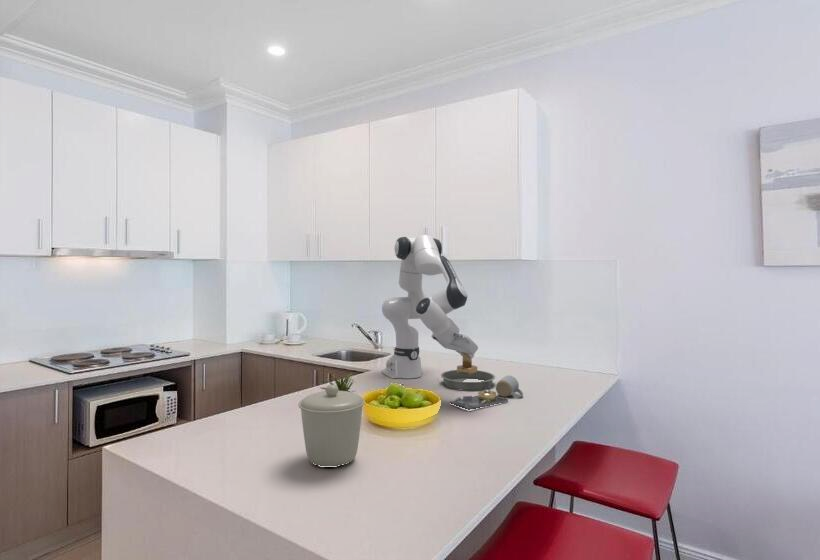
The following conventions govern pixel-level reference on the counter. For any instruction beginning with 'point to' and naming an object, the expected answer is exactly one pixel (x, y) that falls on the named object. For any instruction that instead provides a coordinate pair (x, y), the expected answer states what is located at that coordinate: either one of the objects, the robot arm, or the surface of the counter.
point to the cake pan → (456, 379)
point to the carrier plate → (479, 400)
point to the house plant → (342, 383)
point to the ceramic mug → (508, 387)
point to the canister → (331, 426)
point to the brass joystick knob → (466, 365)
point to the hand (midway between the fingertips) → (468, 356)
